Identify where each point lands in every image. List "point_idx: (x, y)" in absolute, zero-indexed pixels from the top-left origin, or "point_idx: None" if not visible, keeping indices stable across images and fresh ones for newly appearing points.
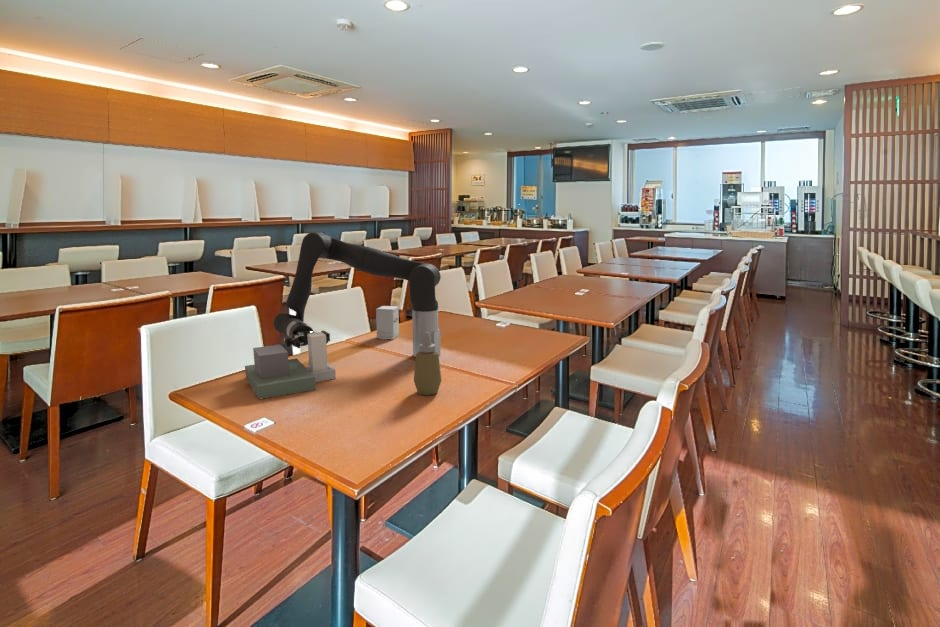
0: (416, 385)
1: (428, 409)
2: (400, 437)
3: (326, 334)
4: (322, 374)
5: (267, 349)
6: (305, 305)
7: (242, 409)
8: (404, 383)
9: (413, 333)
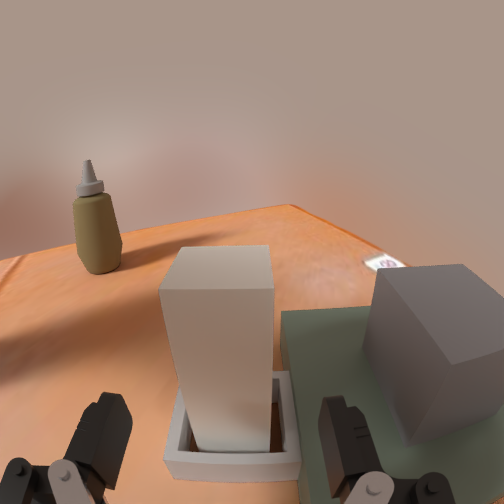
0: (120, 250)
1: (153, 241)
2: (225, 221)
3: (33, 471)
4: None
5: (475, 308)
6: None
7: None
8: (89, 300)
9: None
